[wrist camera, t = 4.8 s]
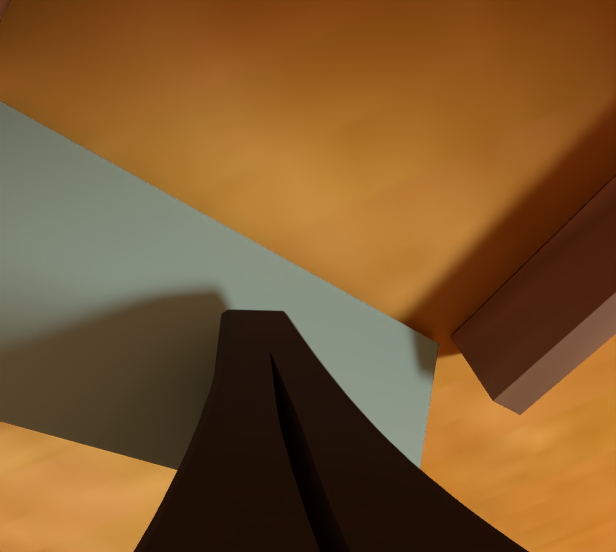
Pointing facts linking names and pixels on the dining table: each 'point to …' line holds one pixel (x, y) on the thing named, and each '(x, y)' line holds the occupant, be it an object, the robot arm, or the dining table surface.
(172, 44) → the dining table surface
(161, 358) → the panel
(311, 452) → the robot arm
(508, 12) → the dining table surface
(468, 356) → the cart frame
